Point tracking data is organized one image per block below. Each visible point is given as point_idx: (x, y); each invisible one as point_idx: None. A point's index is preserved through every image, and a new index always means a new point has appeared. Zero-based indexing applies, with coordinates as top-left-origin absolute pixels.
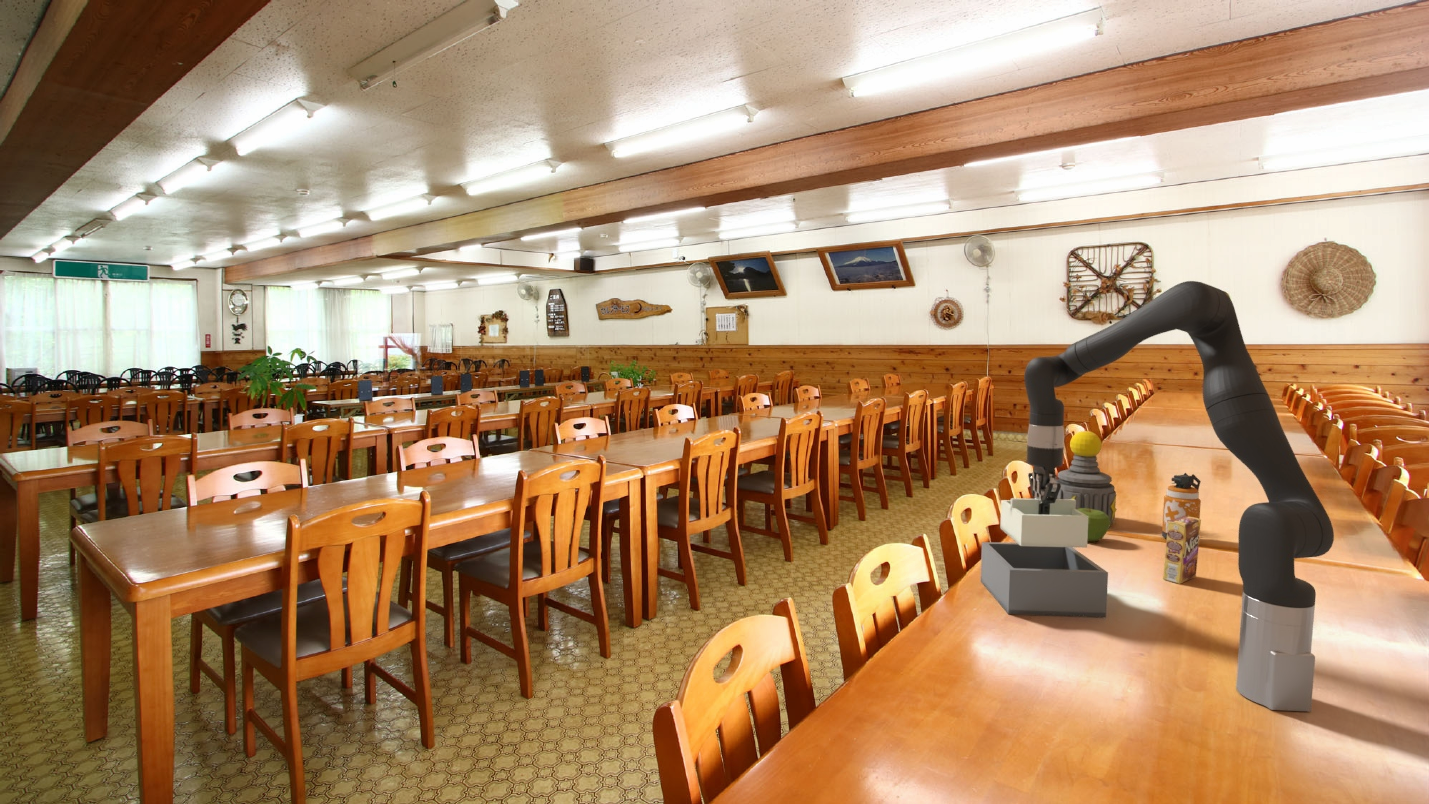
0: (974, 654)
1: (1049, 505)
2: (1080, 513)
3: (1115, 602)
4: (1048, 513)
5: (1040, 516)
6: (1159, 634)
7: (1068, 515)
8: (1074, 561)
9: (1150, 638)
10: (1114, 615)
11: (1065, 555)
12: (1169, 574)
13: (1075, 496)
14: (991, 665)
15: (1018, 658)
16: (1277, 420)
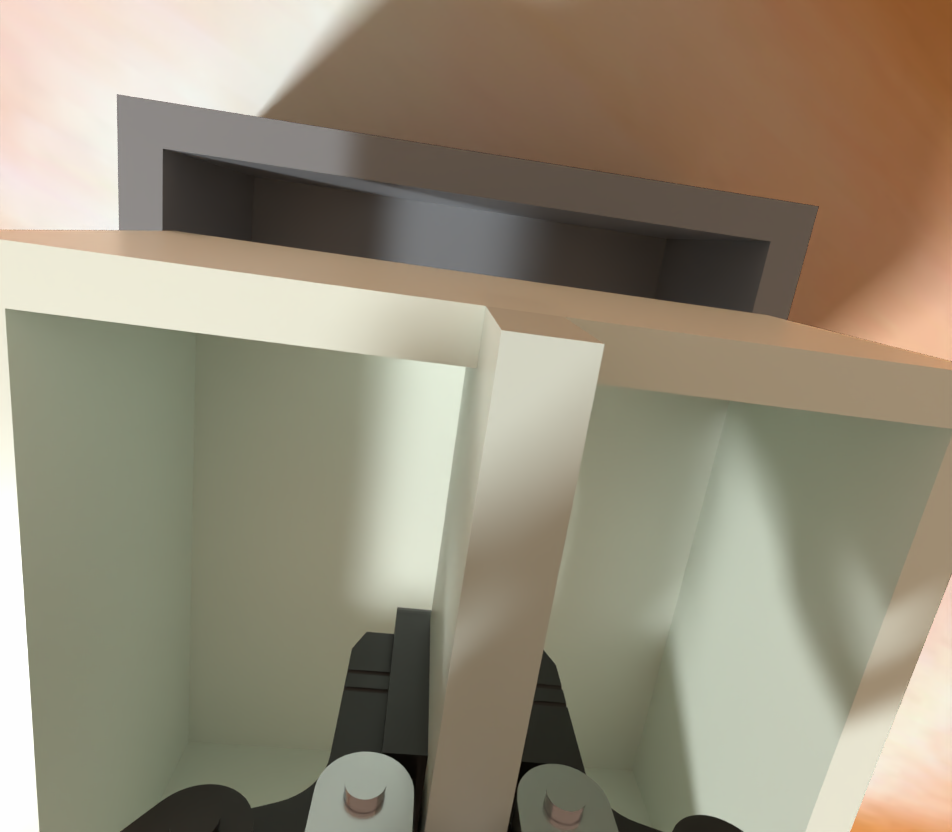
0: (869, 806)
1: (541, 754)
2: (851, 406)
3: (518, 27)
4: (562, 696)
5: None
6: (896, 80)
7: (901, 629)
8: (375, 185)
9: (919, 156)
10: (673, 154)
11: (216, 161)
12: None
13: None
14: (941, 787)
15: (925, 706)
16: None
